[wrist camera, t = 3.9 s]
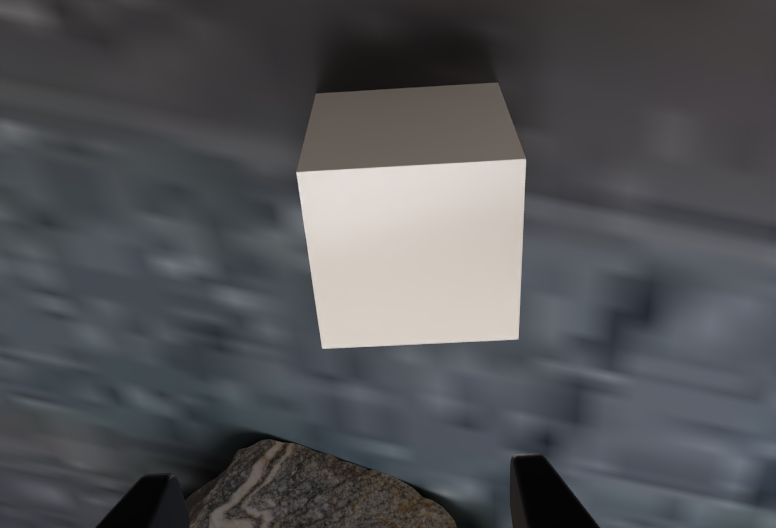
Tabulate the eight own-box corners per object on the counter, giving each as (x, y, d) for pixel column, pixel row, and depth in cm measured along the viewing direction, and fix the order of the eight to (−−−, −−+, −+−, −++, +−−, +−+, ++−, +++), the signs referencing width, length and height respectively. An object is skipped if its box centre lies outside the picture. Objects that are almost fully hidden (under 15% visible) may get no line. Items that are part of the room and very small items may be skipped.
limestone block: (497, 81, 20) (526, 158, 16) (494, 237, 23) (518, 339, 18) (316, 92, 20) (296, 172, 16) (334, 246, 23) (322, 348, 19)
